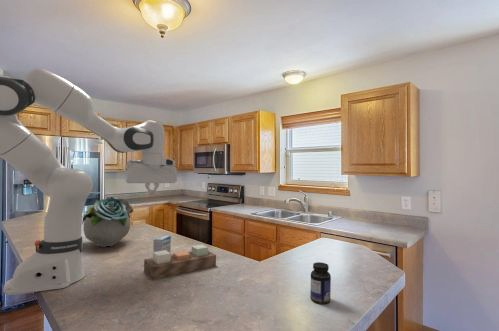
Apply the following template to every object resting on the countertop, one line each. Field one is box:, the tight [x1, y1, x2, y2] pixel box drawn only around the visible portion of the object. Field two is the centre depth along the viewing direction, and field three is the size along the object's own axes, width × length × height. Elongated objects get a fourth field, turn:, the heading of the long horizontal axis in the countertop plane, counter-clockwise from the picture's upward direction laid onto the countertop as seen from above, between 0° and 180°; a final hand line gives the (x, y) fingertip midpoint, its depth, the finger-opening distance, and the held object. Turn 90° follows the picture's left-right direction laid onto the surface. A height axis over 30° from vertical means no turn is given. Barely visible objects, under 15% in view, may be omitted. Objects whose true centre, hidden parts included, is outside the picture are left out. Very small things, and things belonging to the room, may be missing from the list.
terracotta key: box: [172, 250, 190, 261], centre depth 111 cm, size 5×5×4 cm
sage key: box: [190, 244, 209, 257], centre depth 116 cm, size 5×5×4 cm
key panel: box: [143, 250, 217, 281], centre depth 111 cm, size 26×10×4 cm, turn 127°
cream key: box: [152, 250, 172, 264], centre depth 107 cm, size 5×5×4 cm
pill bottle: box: [309, 262, 332, 305], centre depth 87 cm, size 6×6×11 cm
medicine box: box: [152, 234, 172, 253], centre depth 126 cm, size 8×4×9 cm, turn 168°
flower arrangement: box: [82, 196, 134, 248], centre depth 141 cm, size 25×25×24 cm
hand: (151, 194), depth 115 cm, fingers closed
